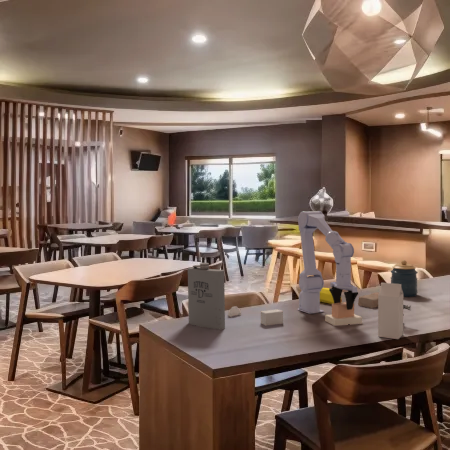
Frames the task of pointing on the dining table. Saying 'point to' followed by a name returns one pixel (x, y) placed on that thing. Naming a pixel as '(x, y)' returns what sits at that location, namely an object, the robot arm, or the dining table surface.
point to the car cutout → (234, 311)
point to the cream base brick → (343, 320)
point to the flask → (206, 297)
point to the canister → (405, 278)
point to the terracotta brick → (341, 310)
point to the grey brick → (271, 317)
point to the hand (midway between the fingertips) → (343, 307)
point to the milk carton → (390, 311)
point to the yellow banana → (326, 296)
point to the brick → (369, 300)
